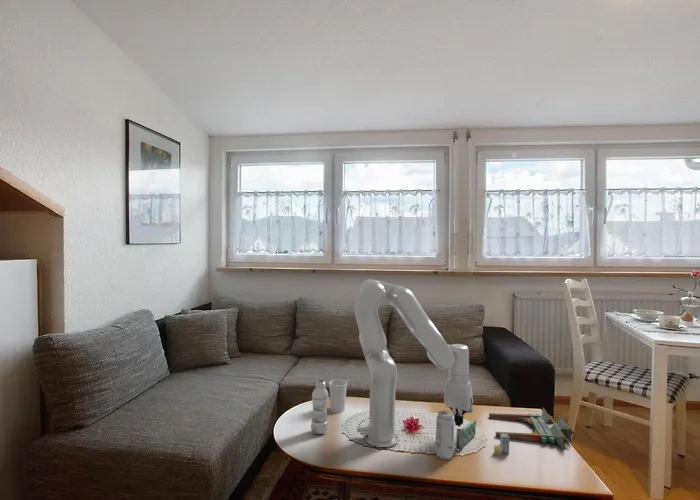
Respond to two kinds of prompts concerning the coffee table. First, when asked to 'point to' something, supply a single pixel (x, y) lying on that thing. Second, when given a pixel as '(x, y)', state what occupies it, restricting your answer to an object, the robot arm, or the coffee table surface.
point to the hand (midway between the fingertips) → (458, 424)
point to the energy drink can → (444, 434)
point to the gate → (469, 431)
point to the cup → (337, 395)
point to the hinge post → (459, 439)
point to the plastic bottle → (319, 408)
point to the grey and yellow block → (502, 445)
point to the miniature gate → (539, 428)
